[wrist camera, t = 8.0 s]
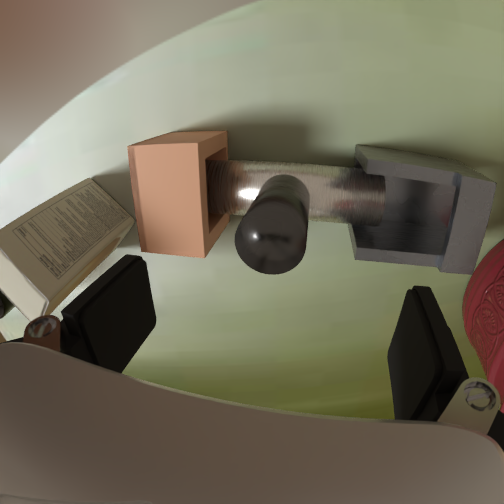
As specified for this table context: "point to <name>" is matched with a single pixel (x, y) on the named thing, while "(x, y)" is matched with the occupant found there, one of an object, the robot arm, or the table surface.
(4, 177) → the table surface
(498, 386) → the canister
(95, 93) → the table surface
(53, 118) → the table surface
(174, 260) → the table surface
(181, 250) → the socket
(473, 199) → the sleeve
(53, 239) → the skincare box
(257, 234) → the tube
